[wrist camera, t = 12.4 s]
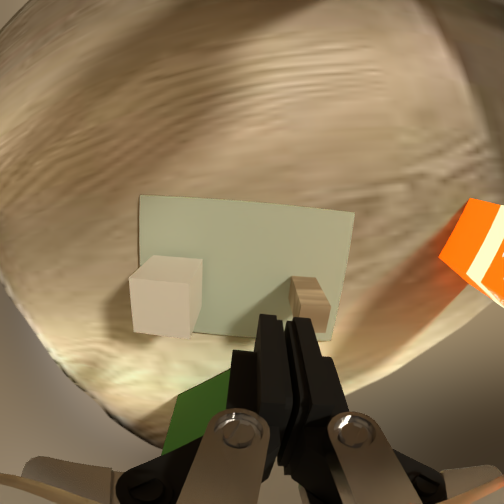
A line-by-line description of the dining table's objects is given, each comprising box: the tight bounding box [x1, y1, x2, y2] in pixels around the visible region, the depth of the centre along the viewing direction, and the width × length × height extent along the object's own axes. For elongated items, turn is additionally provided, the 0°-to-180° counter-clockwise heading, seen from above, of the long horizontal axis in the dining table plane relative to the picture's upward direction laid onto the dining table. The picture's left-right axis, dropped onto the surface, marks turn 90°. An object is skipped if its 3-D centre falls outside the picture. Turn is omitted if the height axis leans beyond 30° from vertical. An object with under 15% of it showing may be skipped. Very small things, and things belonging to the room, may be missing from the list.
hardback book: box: [161, 370, 302, 504], centre depth 24 cm, size 18×7×24 cm, turn 126°
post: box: [288, 276, 331, 333], centre depth 28 cm, size 3×3×7 cm
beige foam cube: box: [129, 255, 203, 339], centre depth 27 cm, size 5×5×7 cm
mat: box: [139, 195, 355, 341], centre depth 31 cm, size 15×22×1 cm
